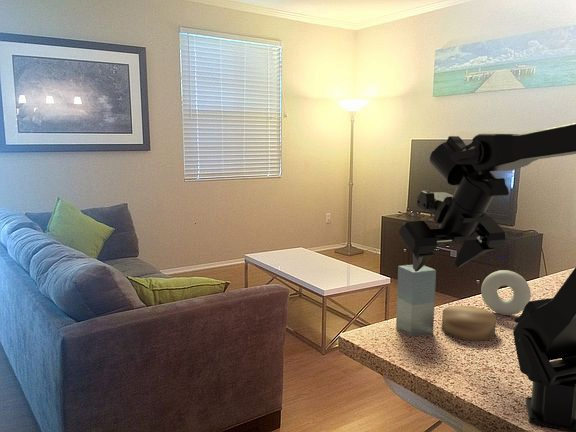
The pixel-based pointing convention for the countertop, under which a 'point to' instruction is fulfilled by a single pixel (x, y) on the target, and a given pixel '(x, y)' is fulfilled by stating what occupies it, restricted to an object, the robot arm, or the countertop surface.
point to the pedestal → (468, 323)
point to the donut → (511, 280)
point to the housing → (415, 300)
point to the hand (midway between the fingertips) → (436, 267)
